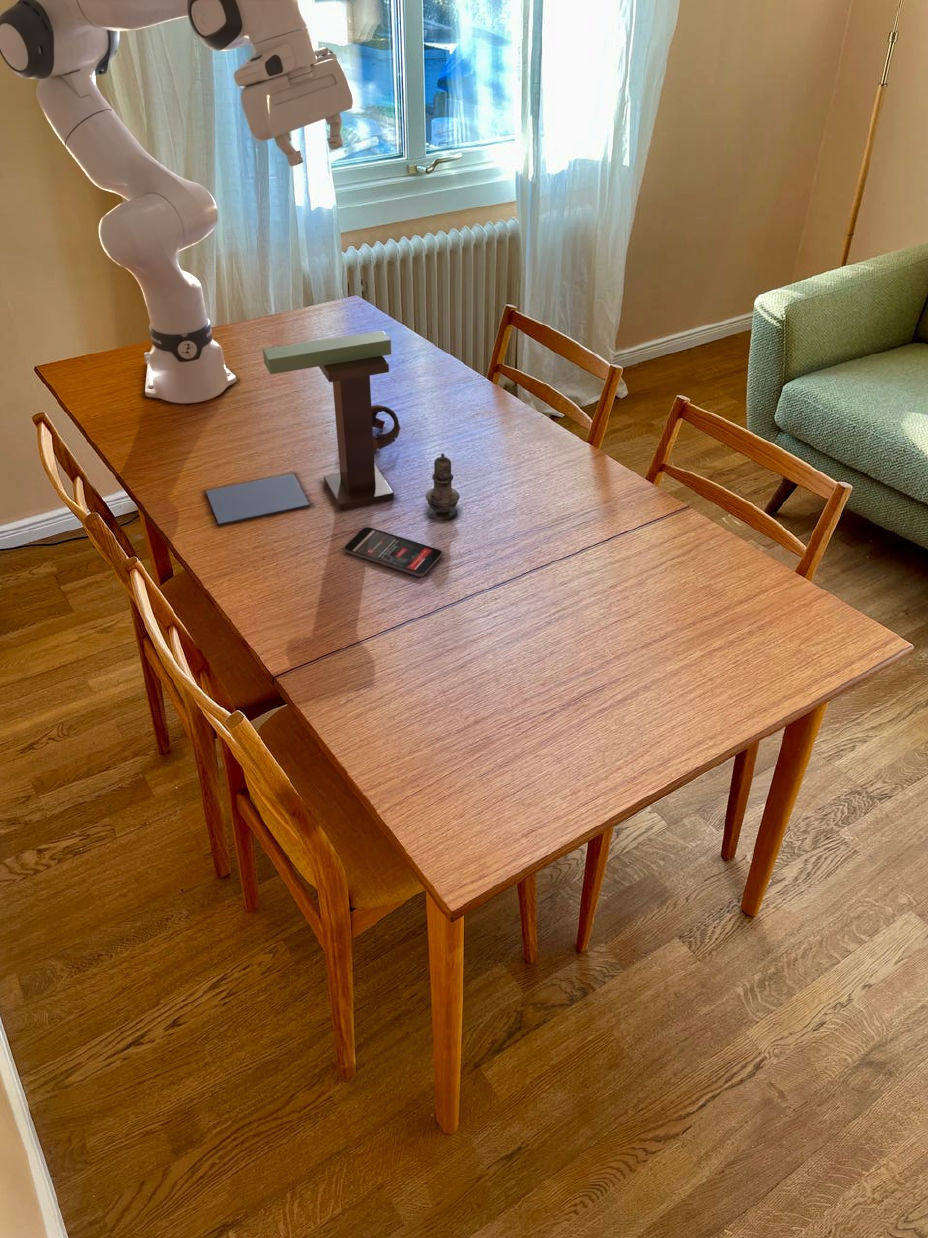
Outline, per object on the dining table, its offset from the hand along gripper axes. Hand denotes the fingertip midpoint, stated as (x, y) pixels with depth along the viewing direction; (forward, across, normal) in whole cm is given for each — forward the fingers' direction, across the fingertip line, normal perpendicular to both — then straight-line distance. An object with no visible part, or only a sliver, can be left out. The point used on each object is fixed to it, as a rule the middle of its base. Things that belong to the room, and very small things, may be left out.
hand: (317, 156), depth 150 cm
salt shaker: (+58, +11, +14) cm, 61 cm away
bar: (+27, +16, +5) cm, 32 cm away
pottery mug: (+50, 0, -11) cm, 52 cm away
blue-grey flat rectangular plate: (+48, +27, -13) cm, 57 cm away
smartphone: (+57, +25, +15) cm, 64 cm away
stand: (+53, +14, -1) cm, 55 cm away
